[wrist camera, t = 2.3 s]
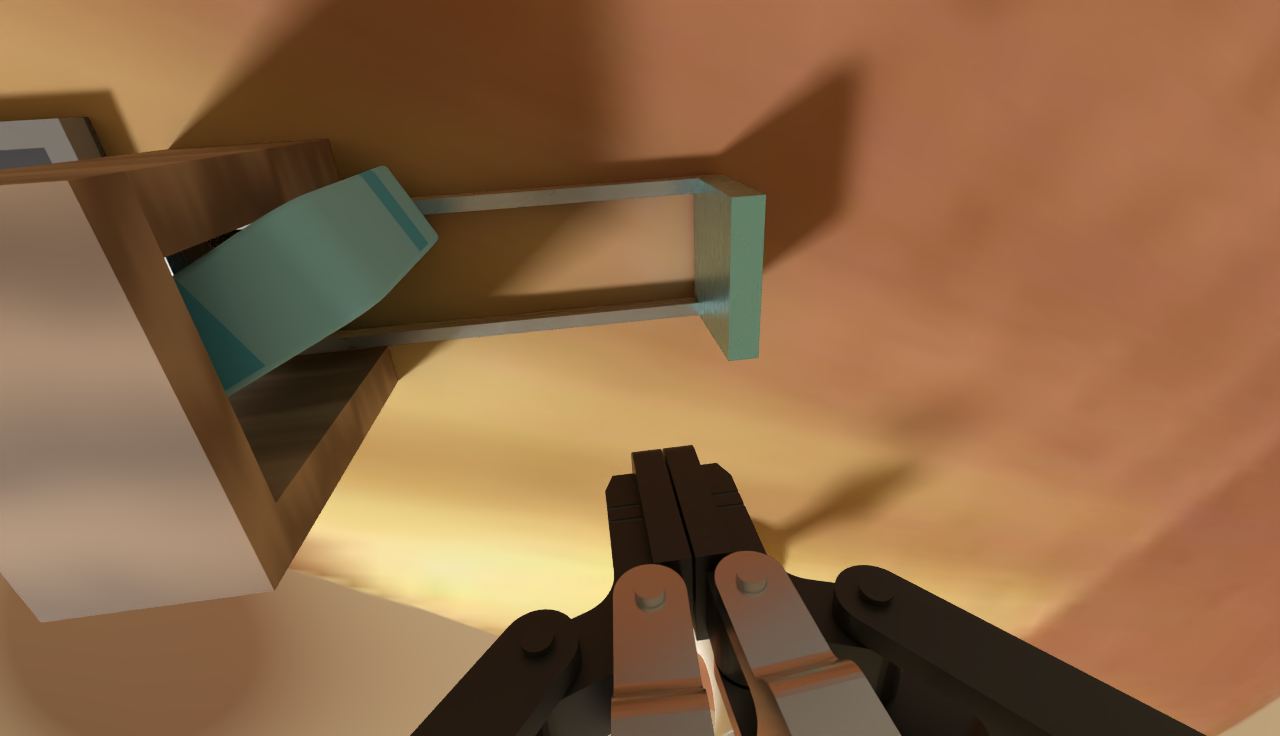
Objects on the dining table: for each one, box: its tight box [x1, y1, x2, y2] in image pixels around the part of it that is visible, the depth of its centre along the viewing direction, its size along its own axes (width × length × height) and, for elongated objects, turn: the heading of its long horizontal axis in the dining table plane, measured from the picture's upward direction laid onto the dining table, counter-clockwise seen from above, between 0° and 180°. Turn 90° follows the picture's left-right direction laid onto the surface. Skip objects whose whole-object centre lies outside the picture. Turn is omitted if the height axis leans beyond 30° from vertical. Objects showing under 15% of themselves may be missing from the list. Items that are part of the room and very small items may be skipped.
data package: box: [173, 166, 438, 397], centre depth 26 cm, size 12×4×12 cm, turn 119°
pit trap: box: [0, 117, 106, 170], centre depth 30 cm, size 18×8×2 cm, turn 3°
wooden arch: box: [0, 139, 398, 622], centre depth 24 cm, size 15×8×17 cm, turn 3°
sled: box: [164, 174, 766, 361], centre depth 29 cm, size 8×30×8 cm, turn 93°
